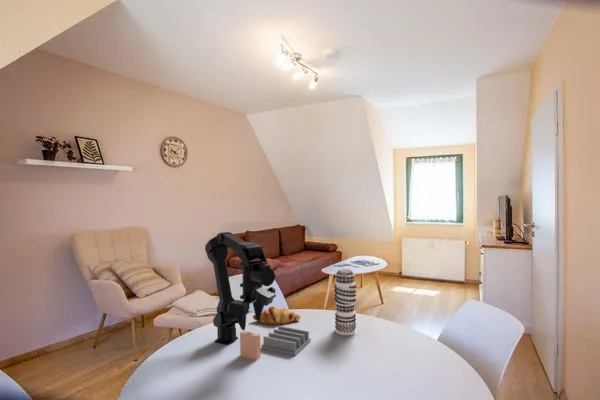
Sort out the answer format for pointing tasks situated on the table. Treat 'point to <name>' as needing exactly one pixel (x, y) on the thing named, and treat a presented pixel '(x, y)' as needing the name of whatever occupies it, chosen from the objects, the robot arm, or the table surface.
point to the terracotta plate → (250, 345)
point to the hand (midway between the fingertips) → (251, 325)
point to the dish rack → (286, 340)
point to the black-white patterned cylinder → (345, 302)
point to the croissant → (277, 316)
